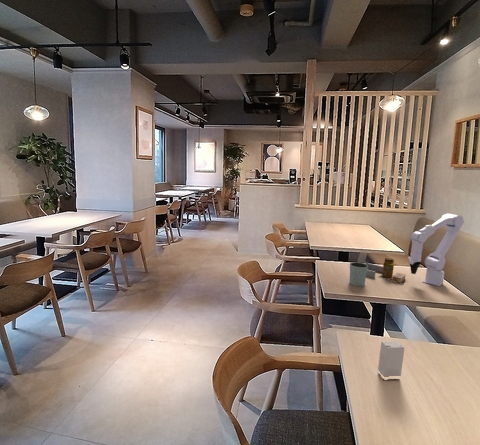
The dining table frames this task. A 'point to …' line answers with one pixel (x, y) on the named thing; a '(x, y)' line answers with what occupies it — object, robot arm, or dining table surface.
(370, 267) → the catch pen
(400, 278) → the tan rectangular block
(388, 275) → the condiment
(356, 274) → the green tapered cup
